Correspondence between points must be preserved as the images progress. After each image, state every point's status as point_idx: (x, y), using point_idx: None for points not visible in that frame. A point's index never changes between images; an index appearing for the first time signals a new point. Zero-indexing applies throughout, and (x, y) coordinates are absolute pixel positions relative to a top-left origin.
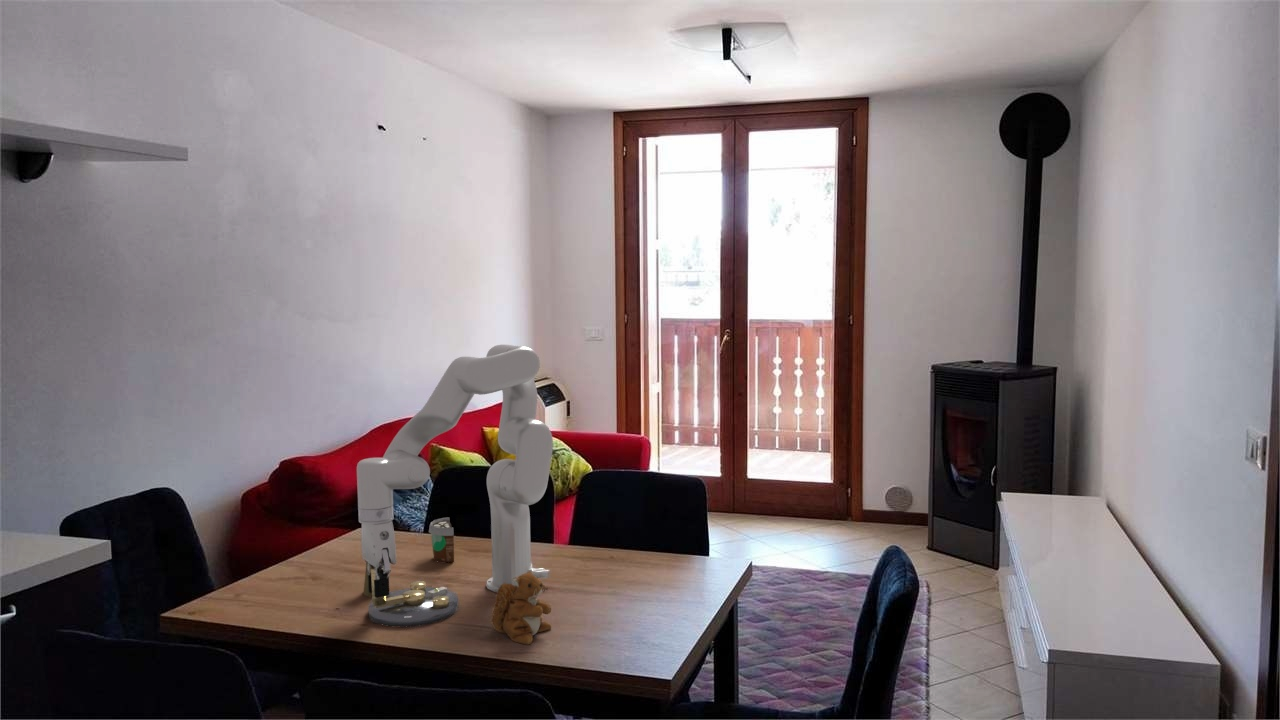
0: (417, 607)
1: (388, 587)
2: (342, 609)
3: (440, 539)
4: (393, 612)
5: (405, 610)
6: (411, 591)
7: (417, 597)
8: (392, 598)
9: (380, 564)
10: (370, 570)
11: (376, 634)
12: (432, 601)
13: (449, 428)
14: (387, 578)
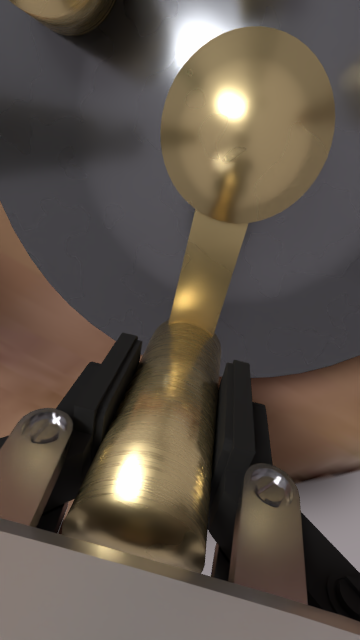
0: (346, 185)
1: (248, 394)
2: (2, 346)
3: None
4: (286, 320)
5: (319, 264)
6: (191, 120)
7: (324, 156)
8: (205, 290)
9: (41, 499)
10: (59, 522)
11: (336, 415)
12: (355, 23)
13: None
14: (280, 481)
